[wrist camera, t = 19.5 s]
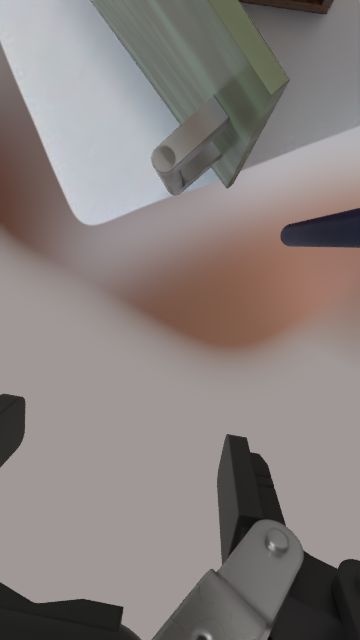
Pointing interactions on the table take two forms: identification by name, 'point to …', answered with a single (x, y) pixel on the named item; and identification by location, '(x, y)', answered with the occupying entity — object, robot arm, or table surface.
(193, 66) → the cupboard door
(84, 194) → the table surface
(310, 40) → the table surface
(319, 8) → the cupboard
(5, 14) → the table surface
